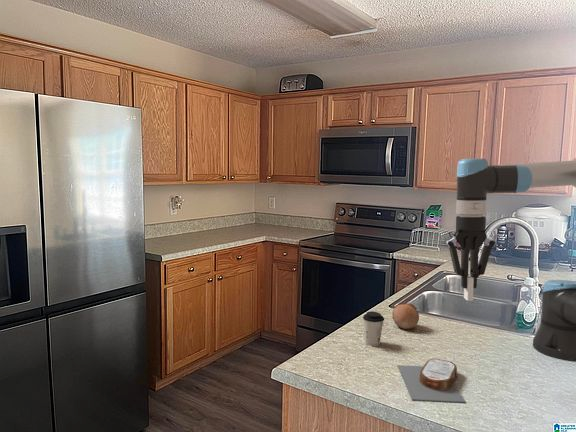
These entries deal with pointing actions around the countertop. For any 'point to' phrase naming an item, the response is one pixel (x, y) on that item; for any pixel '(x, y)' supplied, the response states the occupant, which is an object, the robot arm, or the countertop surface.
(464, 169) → the robot arm
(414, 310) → the onion
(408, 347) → the countertop surface
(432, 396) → the mat
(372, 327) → the coffee cup
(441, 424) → the countertop surface
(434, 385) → the tin
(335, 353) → the countertop surface
